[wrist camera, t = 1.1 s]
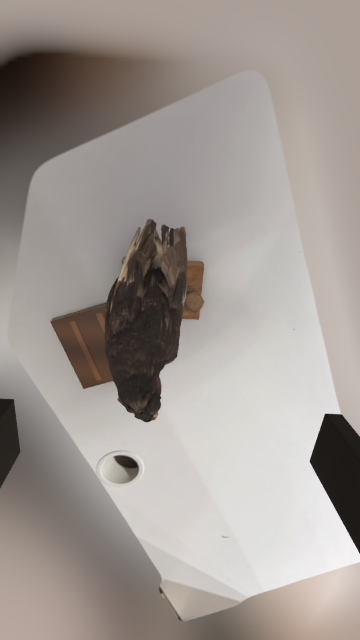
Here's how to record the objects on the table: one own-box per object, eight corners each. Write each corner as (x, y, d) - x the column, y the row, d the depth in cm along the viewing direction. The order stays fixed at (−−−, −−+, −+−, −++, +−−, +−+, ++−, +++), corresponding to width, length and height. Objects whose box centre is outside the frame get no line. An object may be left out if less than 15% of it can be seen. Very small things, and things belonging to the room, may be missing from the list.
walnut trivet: (52, 318, 46) (49, 322, 44) (117, 299, 45) (116, 302, 44) (85, 385, 50) (83, 389, 49) (144, 368, 49) (144, 372, 48)
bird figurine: (207, 213, 41) (263, 242, 18) (197, 314, 46) (230, 437, 23) (124, 207, 40) (70, 229, 17) (123, 311, 46) (82, 434, 22)
